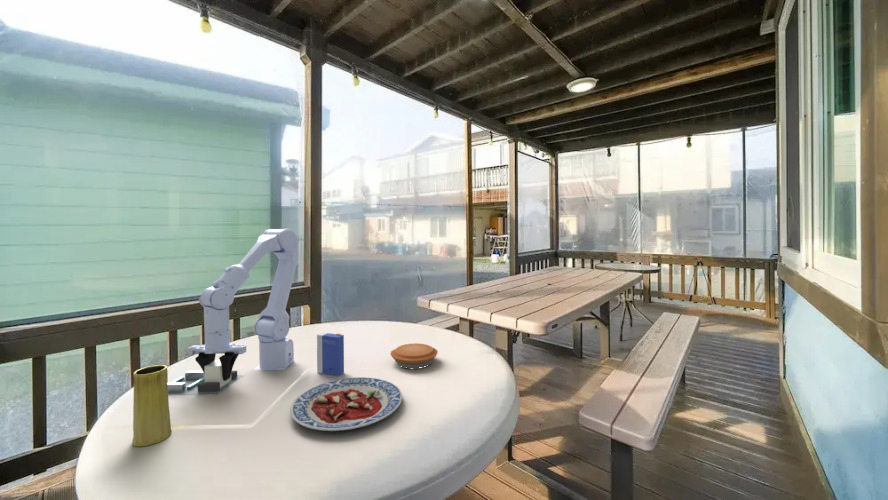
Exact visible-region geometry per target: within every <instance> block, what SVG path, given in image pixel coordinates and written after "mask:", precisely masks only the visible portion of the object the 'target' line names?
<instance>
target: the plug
mask: <svg viewBox="0 0 888 500" xmlns="http://www.w3.org/2000/svg"><path fill="white" fill-rule="evenodd" d="M204 371H205V382H220V388H221V387H223V386H224V385H225V384H227V383H228V382H230V381H231V376H230V378H229V379H228V380H226V381H223V375H222V365H221V362H220V359H215V361H213V362H211V363H210V364H208V365H206V366H204Z"/></svg>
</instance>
